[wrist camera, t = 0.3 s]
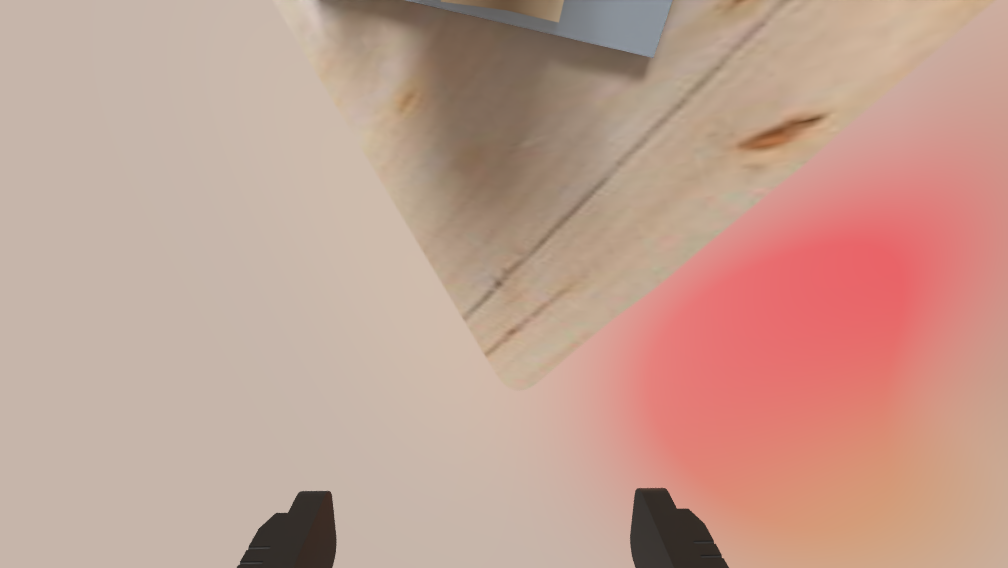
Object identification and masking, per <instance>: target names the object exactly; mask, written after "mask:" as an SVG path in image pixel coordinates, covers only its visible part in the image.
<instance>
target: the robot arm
mask: <svg viewBox="0 0 1008 568" xmlns="http://www.w3.org/2000/svg"><path fill="white" fill-rule="evenodd" d="M630 544H631V552H632V557H633V561H634V564H635V567H636V568H729V567H728V566H727V564H726V562H725V560H724V559H723V558H722V556H721V553H720V551H719V549H718V547H717V546H716V544H714V541H713V539H712V537H711V535H710V533H709V531H708V529H707V528H706V526H705V524H704V523H703V522H702V521H701V520H700V519H699V518H698V517H697V516H695V515H694V514H693V513H692V512H691V511H690V510H689V509H677V508H676V506H675V504H674V502H673V500H672V498H671V496H670V494H669V493H668V491H667V489H665V488H638V489H637V490H636V491H635V497H634V506H633V515H632V525H631V534H630ZM335 553H336V530H335V520H334V510H333V501H332V494H331V492H330V491H302V492H299V493H298V495H297V496H296V498H295V500H294V502H293V504H292V506H291V508H290V510H289V512H288V513H276V514H274V515H273V516H272V517H271V518H270V519H269V520H268V521H267V522H266V523H265V524H263V525H262V526H261V527H260V528H259V529H258V531H257V533H256V535H255V537H254V538H253V540H252V542H251V543H250V545H249V549H248V550H246V552H245V554H244V556H243V558H242V559H241V561H240V565H238V566H237V568H332V566H333V563H334V559H335Z"/></svg>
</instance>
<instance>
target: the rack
mask: <svg viewBox="0 0 1008 568" xmlns="http://www.w3.org/2000/svg"><path fill="white" fill-rule="evenodd" d="M406 1H410V2H415V3H419V4H423V5H428V6H432V7H436V8H440V9H445V10H449V11H453V12H458V13H462V14H466V15H471V16H475V17H479V18H483V19H488V20H492V21H496V22H501V23H505V24H509V25H514V26H518V27H522V28H527V29H531V30H535V31H539V32H544V33H548V34H552V35H557V36H561V37H565V38H570V39H574V40H578V41H582V42H587V43H591V44H595V45H600V46H604V47H608V48H613V49H617V50H621V51H626V52H630V53H634V54H638V55H643V56H647V57H651V58H653V57H654V54H655V51H656V48H657V45H658V42H659V39H660V36H661V33H662V30H663V27H664V24H665V21H666V18H667V15H668V12H669V9H670V6H671V3H672V0H564V3H563V7H562V11H561V15H560V20H559V23H558V22H554V21H550V20H546V19H541V18H537V17H533V16H528V15H524V14H520V13H516V12H511V11H507V10H500V9H493V8H485V7H478V6H470V5H462V4H455V3H447V2H441V0H406Z"/></svg>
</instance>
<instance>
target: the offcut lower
mask: <svg viewBox="0 0 1008 568" xmlns="http://www.w3.org/2000/svg"><path fill="white" fill-rule="evenodd" d="M563 3H564V0H548V7H547V15H538V14H530V13H523V12H516V13H520V14H524V15H528V16H533V17H537V18H541V19H546V20H550V21H554V22H558V23H559V20H560V15H561V11H562V7H563ZM507 11H508V10H507ZM511 12H515V11H511Z"/></svg>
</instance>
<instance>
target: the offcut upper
mask: <svg viewBox="0 0 1008 568" xmlns="http://www.w3.org/2000/svg"><path fill="white" fill-rule="evenodd" d="M441 2H447V3H455V4H462V5H470V6H478V7H485V8H493V9H500V10H508V11H515V12H523V13H530V14H538V15H547V7H548V0H441Z"/></svg>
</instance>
